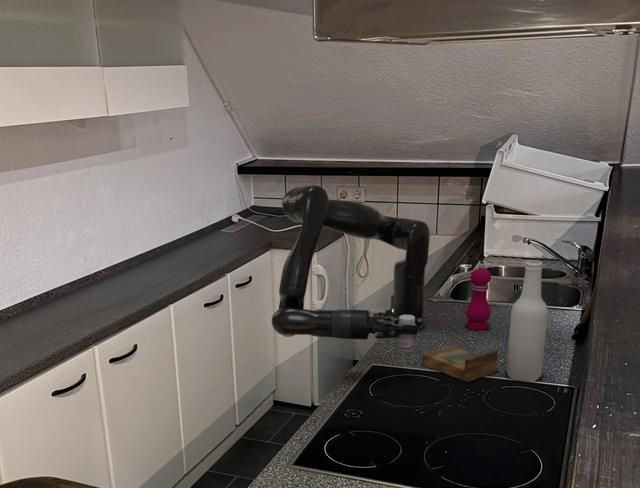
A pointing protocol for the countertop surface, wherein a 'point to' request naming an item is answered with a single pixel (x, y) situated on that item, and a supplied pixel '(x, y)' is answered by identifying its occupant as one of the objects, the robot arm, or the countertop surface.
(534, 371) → the alcohol
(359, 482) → the countertop surface
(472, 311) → the pepper mill
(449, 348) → the wooden box
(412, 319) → the pill bottle
